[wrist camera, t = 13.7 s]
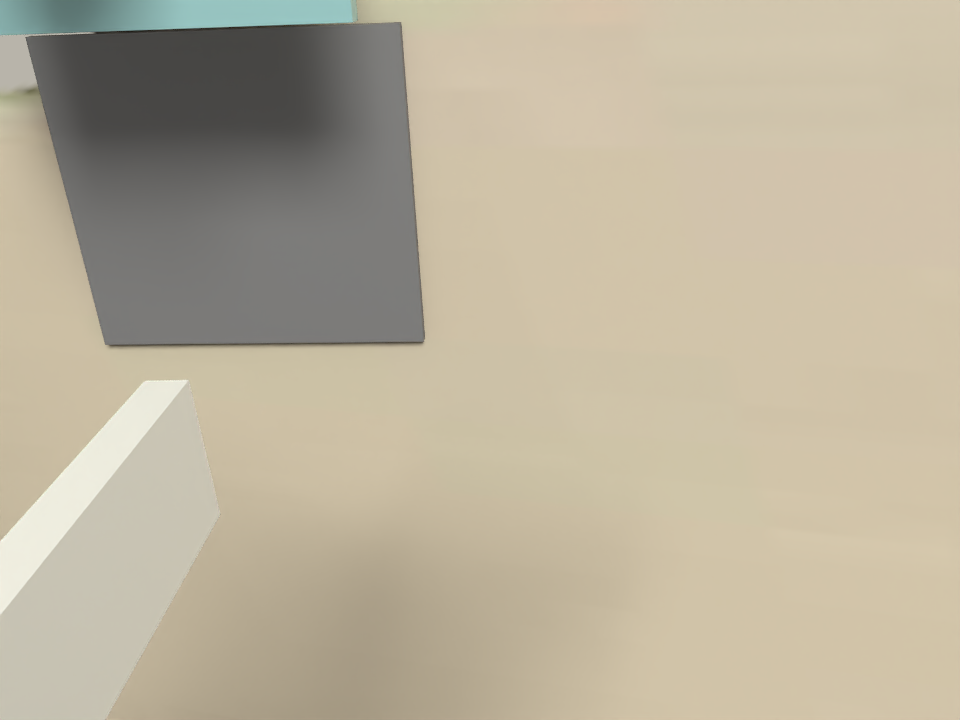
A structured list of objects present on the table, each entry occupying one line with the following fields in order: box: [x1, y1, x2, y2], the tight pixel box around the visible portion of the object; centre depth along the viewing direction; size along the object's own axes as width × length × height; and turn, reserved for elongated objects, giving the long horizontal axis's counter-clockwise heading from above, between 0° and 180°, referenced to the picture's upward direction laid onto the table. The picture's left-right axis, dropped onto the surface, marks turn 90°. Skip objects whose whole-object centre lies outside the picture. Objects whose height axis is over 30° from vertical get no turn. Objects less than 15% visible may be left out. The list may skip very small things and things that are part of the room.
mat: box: [26, 22, 425, 345], centre depth 48 cm, size 20×18×1 cm
